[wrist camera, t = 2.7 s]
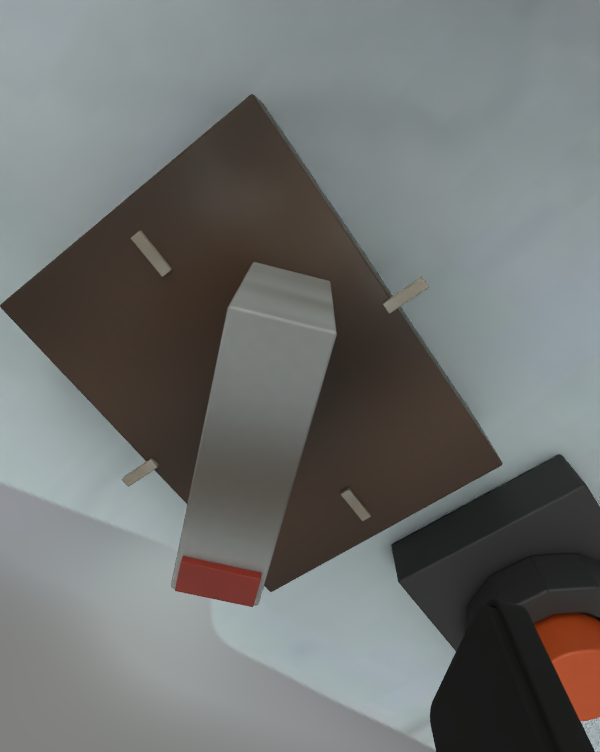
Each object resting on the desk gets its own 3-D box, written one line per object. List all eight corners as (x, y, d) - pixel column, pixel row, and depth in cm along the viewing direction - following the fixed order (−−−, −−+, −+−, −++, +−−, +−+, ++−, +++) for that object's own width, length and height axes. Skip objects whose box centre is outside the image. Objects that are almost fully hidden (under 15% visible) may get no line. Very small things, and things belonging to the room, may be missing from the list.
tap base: (21, 301, 20) (-29, 327, 17) (290, 79, 17) (285, 63, 14) (255, 553, 24) (247, 608, 21) (504, 409, 21) (534, 451, 18)
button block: (390, 545, 24) (404, 618, 20) (560, 453, 22) (610, 515, 18) (500, 680, 27) (530, 765, 23) (658, 610, 25) (719, 690, 21)
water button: (496, 637, 21) (511, 678, 19) (585, 596, 20) (608, 635, 18) (539, 692, 22) (557, 735, 20) (625, 655, 21) (651, 697, 19)
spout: (252, 260, 16) (225, 308, 11) (331, 280, 16) (338, 335, 11) (205, 482, 19) (167, 595, 14) (271, 497, 19) (257, 614, 14)
